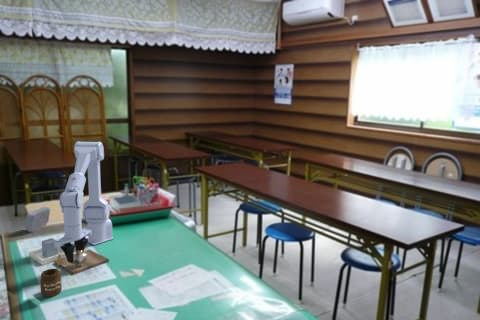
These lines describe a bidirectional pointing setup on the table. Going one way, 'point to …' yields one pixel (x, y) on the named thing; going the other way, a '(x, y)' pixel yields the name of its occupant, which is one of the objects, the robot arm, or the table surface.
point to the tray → (39, 257)
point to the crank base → (91, 262)
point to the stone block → (37, 219)
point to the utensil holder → (51, 281)
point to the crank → (81, 257)
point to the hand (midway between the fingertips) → (75, 260)
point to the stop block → (49, 248)
